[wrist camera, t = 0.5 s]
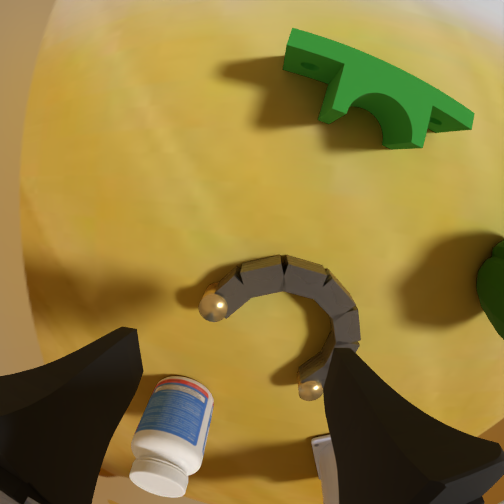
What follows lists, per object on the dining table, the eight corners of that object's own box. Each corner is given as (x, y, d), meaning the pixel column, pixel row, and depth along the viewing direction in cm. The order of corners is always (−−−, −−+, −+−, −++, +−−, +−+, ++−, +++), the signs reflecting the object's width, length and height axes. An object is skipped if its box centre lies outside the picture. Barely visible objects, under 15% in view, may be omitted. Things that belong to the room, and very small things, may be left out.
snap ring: (306, 385, 23) (308, 404, 20) (200, 293, 21) (193, 308, 18) (381, 330, 21) (391, 346, 19) (281, 218, 19) (283, 226, 17)
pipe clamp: (271, 106, 17) (271, 89, 13) (287, 56, 16) (291, 27, 11) (426, 167, 17) (463, 170, 13) (438, 119, 16) (475, 112, 12)
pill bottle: (145, 377, 23) (103, 461, 14) (199, 369, 23) (169, 466, 13) (172, 418, 25) (145, 498, 15) (224, 412, 24) (207, 503, 15)
